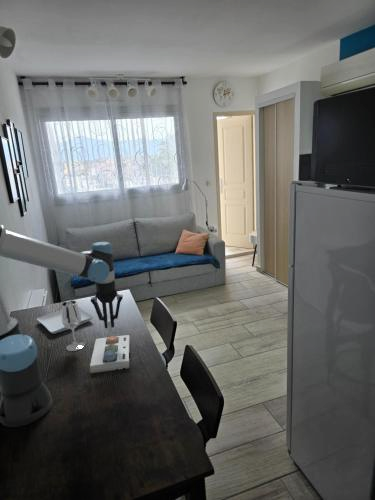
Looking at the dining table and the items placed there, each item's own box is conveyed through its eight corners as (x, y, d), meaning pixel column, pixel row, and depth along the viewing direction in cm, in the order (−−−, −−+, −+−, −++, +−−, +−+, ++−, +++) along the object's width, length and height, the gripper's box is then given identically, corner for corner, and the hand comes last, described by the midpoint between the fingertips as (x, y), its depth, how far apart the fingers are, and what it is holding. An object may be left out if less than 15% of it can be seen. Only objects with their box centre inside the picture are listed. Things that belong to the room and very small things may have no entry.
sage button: (117, 355, 128) (116, 349, 128) (105, 357, 128) (104, 350, 127) (117, 349, 133) (116, 343, 132) (106, 351, 132) (105, 344, 131)
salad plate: (36, 324, 163) (35, 317, 162) (77, 310, 176) (76, 304, 175) (52, 338, 147) (50, 332, 146) (95, 322, 161) (94, 316, 160)
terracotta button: (117, 346, 135) (117, 340, 134) (107, 348, 134) (106, 342, 133) (118, 341, 139) (117, 335, 138) (107, 342, 138) (107, 336, 138)
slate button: (115, 362, 122) (115, 356, 121) (103, 364, 121) (103, 357, 121) (116, 356, 126) (115, 349, 125) (104, 357, 125) (104, 351, 125)
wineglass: (77, 352, 134) (70, 308, 129) (62, 350, 137) (54, 306, 132) (88, 343, 141) (82, 300, 136) (73, 340, 144) (67, 298, 139)
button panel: (129, 367, 122) (128, 360, 121) (90, 373, 120) (89, 365, 119) (129, 341, 141) (129, 334, 140) (96, 345, 139) (96, 338, 138)
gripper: (122, 276, 134) (126, 328, 140) (89, 279, 132) (95, 331, 138) (121, 282, 127) (126, 337, 132) (87, 285, 125) (93, 340, 130)
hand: (110, 334), depth 135 cm, fingers closed
